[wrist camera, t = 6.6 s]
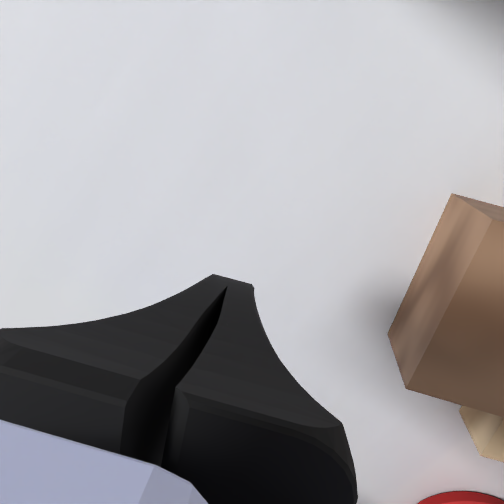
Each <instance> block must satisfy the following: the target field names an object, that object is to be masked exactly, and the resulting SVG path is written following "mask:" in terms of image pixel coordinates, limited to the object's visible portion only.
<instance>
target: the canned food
mask: <svg viewBox="0 0 504 504" xmlns="http://www.w3.org/2000/svg"><path fill="white" fill-rule="evenodd" d="M418 504H504V501H503V500H501V499H498V498H495V497H493V496H490V495H486V494H482V493H477V492H468V491H453V492H446V493H440V494H437V495H434V496H430V497H428V498H426V499H424V500H422V501H420V502H419V503H418Z"/></svg>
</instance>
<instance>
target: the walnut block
mask: <svg viewBox="0 0 504 504" xmlns="http://www.w3.org/2000/svg"><path fill="white" fill-rule="evenodd" d="M388 337H389V340H390V343H391V346H392V349H393V352H394V355H395V358H396V361H397V364H398V367H399V370H400V373H401V376H402V379H403V382H404V385H405V388H406V389H408V390H412V391H415V392H419V393H422V394H425V395H429V396H432V397H436V398H439V399H442V400H446V401H449V402H453V403H456V404H460V405H463V406H466V407H470V408H473V409H477V410H480V411H483V412H487V413H490V414H494V415H497V416H500V417H504V207H501V206H497V205H493V204H489V203H486V202H482V201H478V200H474V199H471V198H467V197H463V196H460V195H456V194H451V196H450V198H449V201H448V203H447V205H446V207H445V209H444V211H443V214H442V216H441V218H440V220H439V222H438V225H437V227H436V229H435V231H434V233H433V236H432V238H431V240H430V242H429V244H428V246H427V249H426V251H425V253H424V255H423V257H422V260H421V262H420V264H419V266H418V268H417V271H416V273H415V275H414V277H413V279H412V282H411V284H410V286H409V288H408V290H407V292H406V295H405V297H404V299H403V301H402V303H401V306H400V308H399V310H398V312H397V314H396V317H395V319H394V321H393V323H392V325H391V327H390V330H389V332H388Z"/></svg>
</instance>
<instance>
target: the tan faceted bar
mask: <svg viewBox="0 0 504 504" xmlns="http://www.w3.org/2000/svg"><path fill="white" fill-rule="evenodd" d="M459 412H460V414H461V416H462V419H463V421H464V423H465V425H466V427H467V429H468V431H469V433H470V435H471V437H472V439H473V441H474V444H475V446H476V448H477V450H478V452H479V454H480V456H483V457H486V458H490V459H494V460H497V461H501V462H504V417H500V416H497V415H494V414H490V413H487V412H483V411H480V410H477V409H473V408H470V407H466V406H463V405H462V406H461V408H460V410H459Z"/></svg>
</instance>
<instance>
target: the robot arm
mask: <svg viewBox="0 0 504 504" xmlns="http://www.w3.org/2000/svg"><path fill="white" fill-rule="evenodd" d="M357 499H358V495H357V482H356V474H355V468H354V463H353V459H352V455H351V451H350V448H349V444H348V440H347V437H346V433H345V430H344V427H343V424H342V423H341V422H340V421H339V420H338V419H337V418H335V417H334V416H333V415H332V414H331V413H329V412H328V411H327V410H326V409H325V408H324V407H322V406H321V405H320V404H319V403H318V402H316V401H315V400H314V399H313V398H312V397H311V396H310V395H309V394H308V393H307V392H306V391H305V390H304V389H303V388H302V387H301V385H300V384H299V383H298V382H297V381H296V380H295V379H294V378H293V376H292V375H291V374H290V373H289V371H288V370H287V369H286V367H285V366H284V365H283V363H282V362H281V361H280V359H279V358H278V356H277V354H276V353H275V351H274V349H273V347H272V345H271V344H270V342H269V339H268V337H267V335H266V333H265V330H264V328H263V326H262V323H261V320H260V317H259V314H258V311H257V307H256V303H255V297H254V287H253V286H252V284H249V283H245V282H241V281H238V280H234V279H230V278H226V277H222V276H219V275H215V274H212V275H211V276H209V277H207V278H205V279H203V280H202V281H200V282H198V283H196V284H195V285H193V286H191V287H189V288H188V289H186V290H184V291H182V292H180V293H178V294H176V295H174V296H172V297H170V298H167V299H165V300H163V301H161V302H159V303H156V304H154V305H151V306H148V307H146V308H143V309H139V310H136V311H133V312H130V313H126V314H122V315H118V316H114V317H109V318H105V319H100V320H96V321H90V322H83V323H77V324H68V325H60V326H49V327H28V328H2V329H0V504H356V503H357Z"/></svg>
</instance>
